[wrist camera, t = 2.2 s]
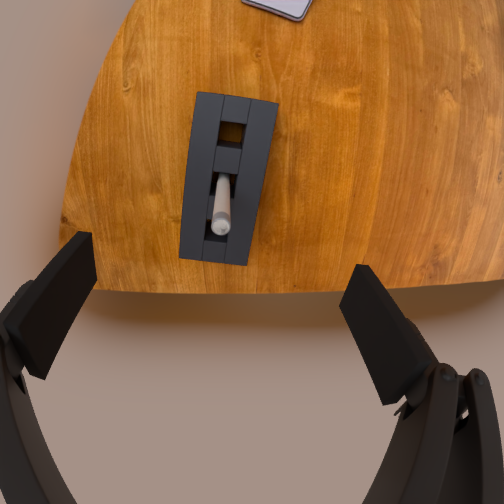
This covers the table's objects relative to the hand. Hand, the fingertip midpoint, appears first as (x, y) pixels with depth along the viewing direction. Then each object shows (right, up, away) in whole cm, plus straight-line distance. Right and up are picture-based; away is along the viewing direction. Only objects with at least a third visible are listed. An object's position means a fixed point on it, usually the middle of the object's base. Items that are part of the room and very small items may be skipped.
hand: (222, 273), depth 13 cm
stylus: (-2, +10, +18) cm, 20 cm away
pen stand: (-2, +10, +17) cm, 20 cm away
